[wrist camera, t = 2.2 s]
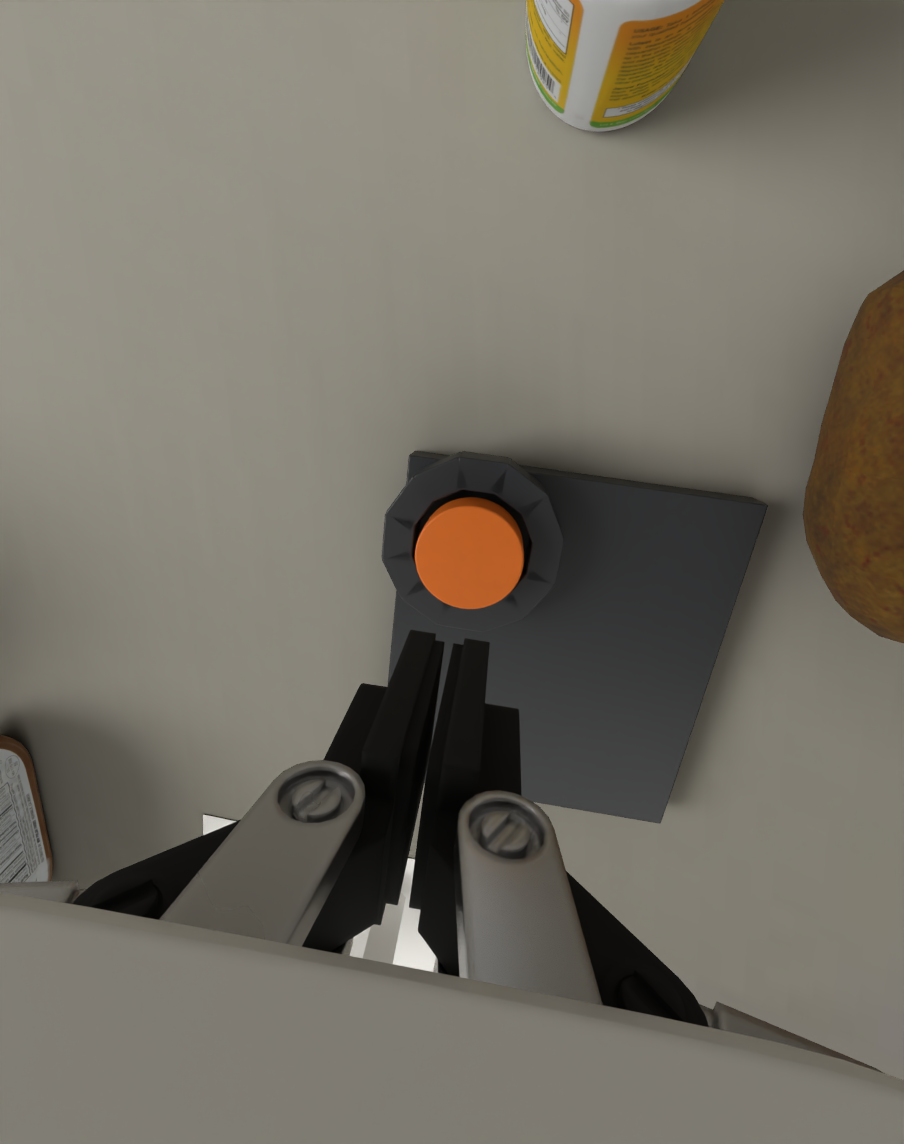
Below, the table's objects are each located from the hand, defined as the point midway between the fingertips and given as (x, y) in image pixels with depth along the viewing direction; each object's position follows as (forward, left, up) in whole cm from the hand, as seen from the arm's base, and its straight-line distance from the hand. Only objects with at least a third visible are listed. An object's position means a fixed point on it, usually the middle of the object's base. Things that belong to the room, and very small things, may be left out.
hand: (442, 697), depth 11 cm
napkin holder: (+25, -6, -13) cm, 29 cm away
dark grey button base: (+5, +4, -13) cm, 14 cm away
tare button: (0, 0, -10) cm, 10 cm away
